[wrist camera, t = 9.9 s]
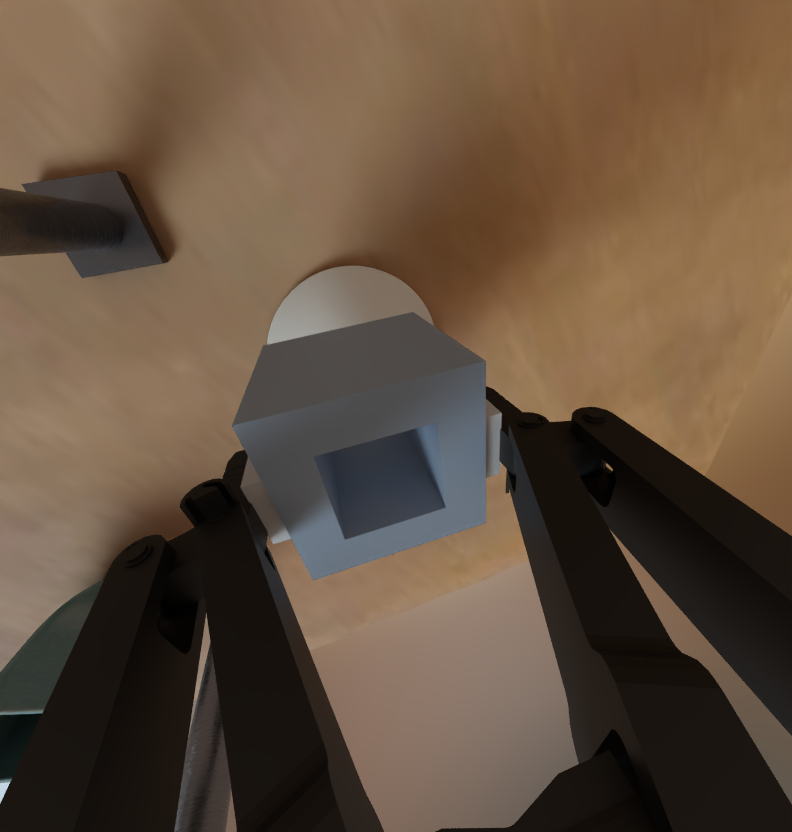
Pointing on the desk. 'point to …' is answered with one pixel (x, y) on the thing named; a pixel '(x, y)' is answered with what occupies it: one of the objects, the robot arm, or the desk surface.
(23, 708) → the flower pot
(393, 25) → the desk surface
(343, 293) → the white round disc
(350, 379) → the hollow square tube
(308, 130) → the desk surface
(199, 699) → the gold-tipped post pair
